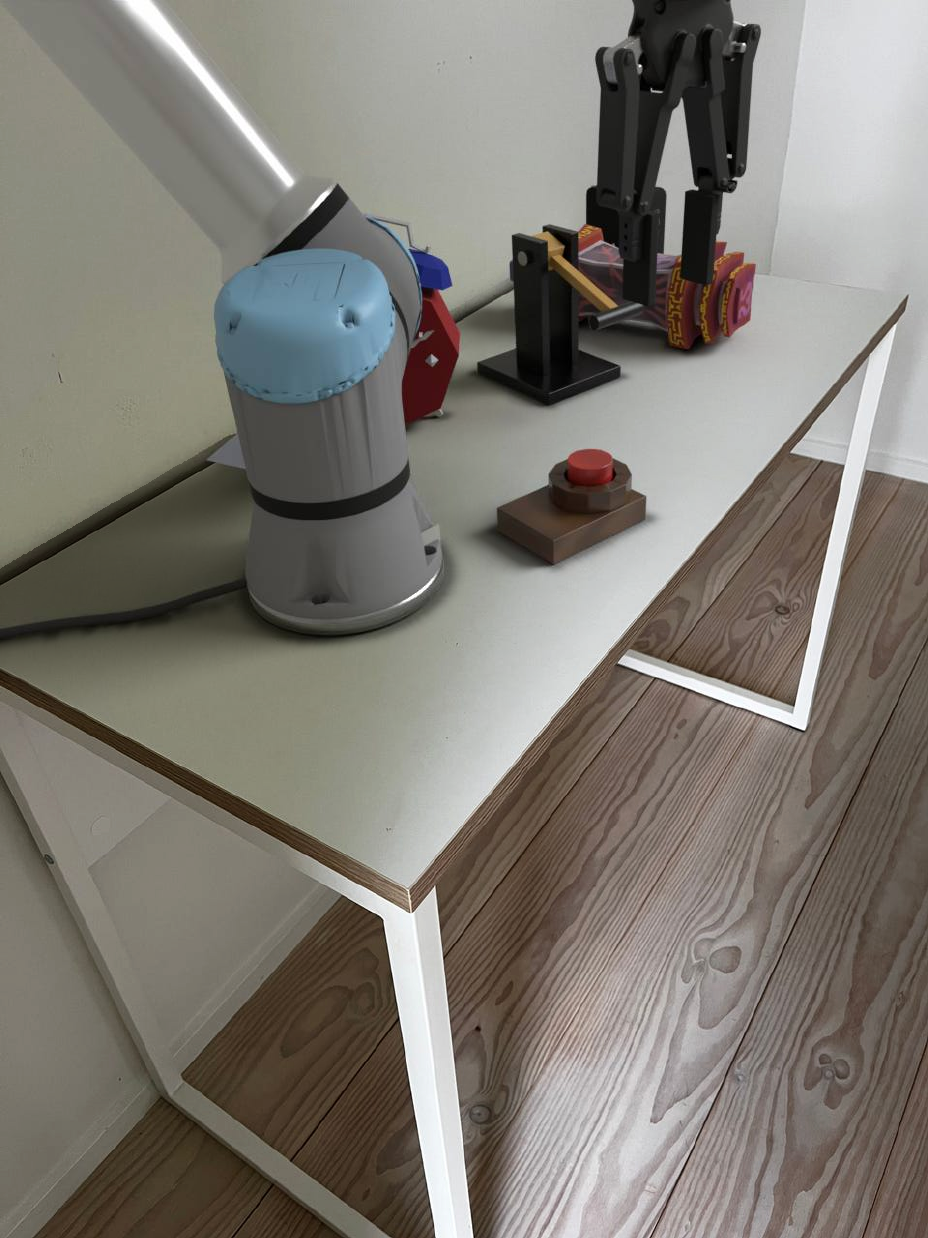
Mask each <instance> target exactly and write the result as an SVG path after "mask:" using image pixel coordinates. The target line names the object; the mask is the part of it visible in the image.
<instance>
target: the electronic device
mask: <svg viewBox="0 0 928 1238" xmlns="http://www.w3.org/2000/svg"><path fill="white" fill-rule="evenodd" d="M634 194H635V195H637V192H636V190H634ZM596 195H597V184H596V185H595V184H592V185H590V187H588V188H587V189H586V192H585V224H587V225H590V226H594V227H597V228H601V230H602V234H603V240H604V242H606V243H608V244H610V245H611V244H613V243H614V245H615V247H617V248H619V213H618V211H617V210H615V209H612V208H607V207H603V206H600V205H598V203H597V200H596ZM650 211H652V212H657V213H659V230H658V253H659V254H665V240H666V239H665V237H666V220H667V219H666V217H667V215H666V214H667V191H666V189H665V188H663V187H661V186H655V191H654V195H653V200H652V204H651V208H650Z"/></svg>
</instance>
